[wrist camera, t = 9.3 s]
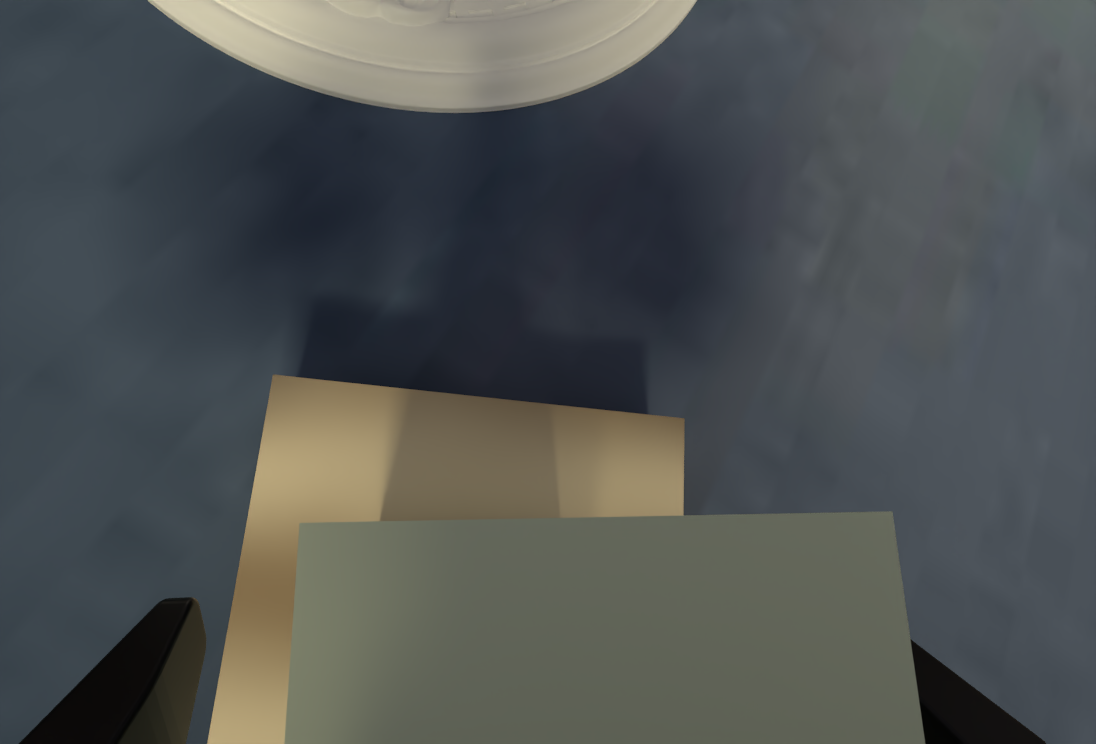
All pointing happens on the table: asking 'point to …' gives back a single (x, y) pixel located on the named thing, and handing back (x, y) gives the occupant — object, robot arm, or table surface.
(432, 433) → the maple base
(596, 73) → the ceiling medallion
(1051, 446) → the table surface
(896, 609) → the sage pillar
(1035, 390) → the table surface
